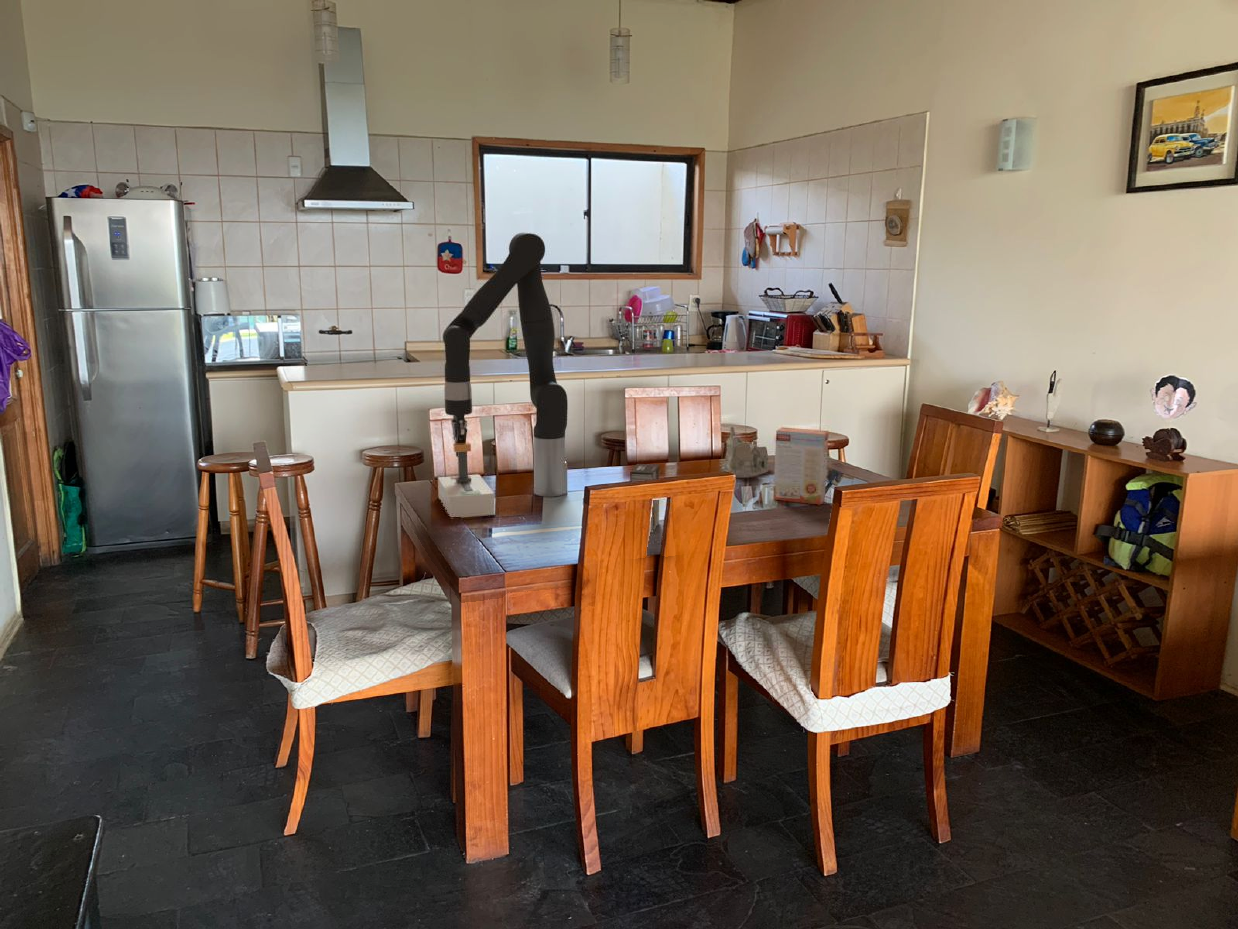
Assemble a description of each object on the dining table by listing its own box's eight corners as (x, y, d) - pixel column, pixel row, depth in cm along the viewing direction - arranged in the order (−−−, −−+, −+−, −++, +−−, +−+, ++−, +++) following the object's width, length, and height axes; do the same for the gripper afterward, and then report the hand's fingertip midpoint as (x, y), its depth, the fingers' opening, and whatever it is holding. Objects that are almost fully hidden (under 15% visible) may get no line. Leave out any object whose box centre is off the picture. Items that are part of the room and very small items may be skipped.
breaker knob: (470, 479, 264) (469, 442, 262) (472, 481, 261) (470, 444, 259) (454, 480, 263) (453, 443, 260) (456, 483, 260) (455, 445, 257)
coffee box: (635, 521, 248) (636, 463, 244) (659, 523, 246) (660, 464, 243) (629, 531, 239) (629, 471, 235) (653, 533, 238) (654, 472, 234)
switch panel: (479, 494, 273) (479, 473, 271) (494, 514, 253) (494, 492, 251) (438, 497, 269) (437, 476, 268) (450, 518, 249) (449, 496, 247)
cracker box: (825, 500, 269) (829, 430, 264) (820, 506, 264) (824, 434, 259) (778, 495, 275) (781, 425, 270) (772, 500, 269) (775, 429, 264)
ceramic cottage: (724, 477, 295) (729, 430, 292) (719, 466, 311) (723, 422, 308) (773, 480, 295) (778, 434, 292) (765, 470, 311) (770, 426, 308)
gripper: (475, 400, 256) (477, 461, 260) (467, 392, 268) (469, 451, 272) (448, 401, 253) (450, 463, 257) (441, 393, 266) (443, 452, 270)
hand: (460, 456), depth 265 cm, fingers closed
